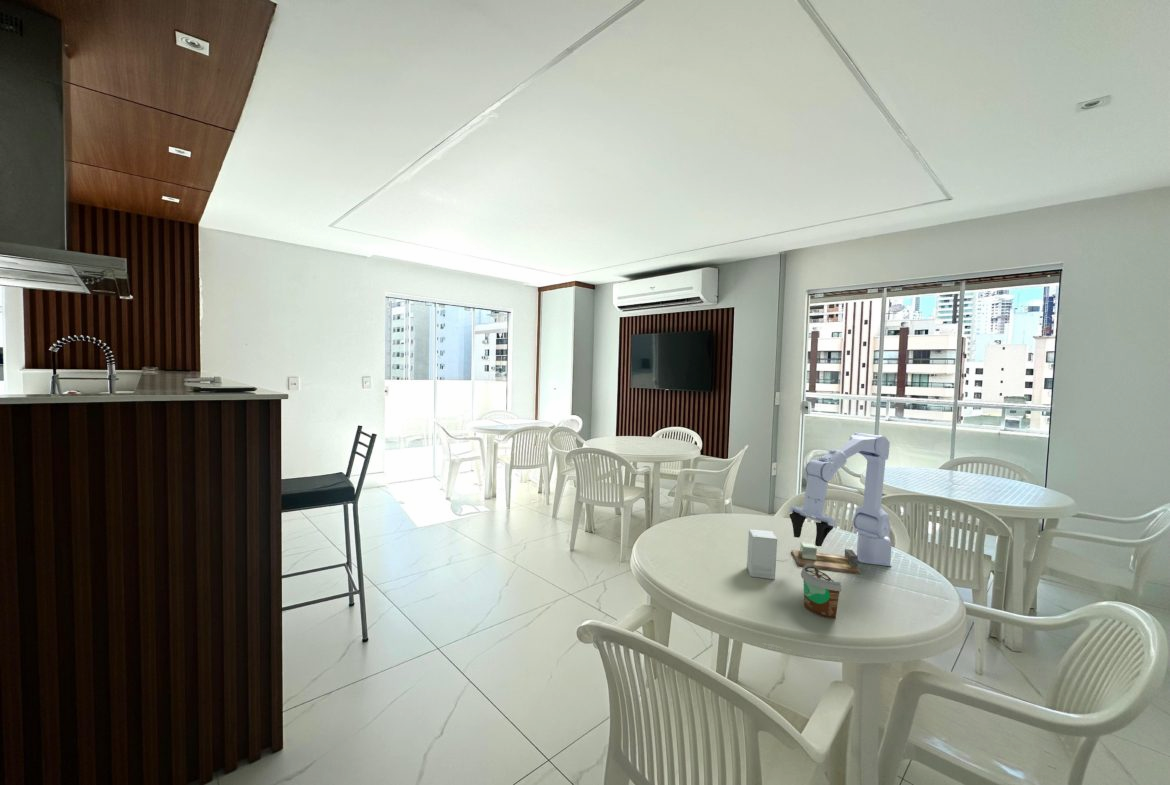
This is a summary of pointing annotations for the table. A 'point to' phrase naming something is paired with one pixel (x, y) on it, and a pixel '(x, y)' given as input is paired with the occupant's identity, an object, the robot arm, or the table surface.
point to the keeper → (808, 550)
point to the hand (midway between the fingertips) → (807, 541)
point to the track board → (830, 561)
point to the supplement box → (762, 554)
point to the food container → (820, 592)
